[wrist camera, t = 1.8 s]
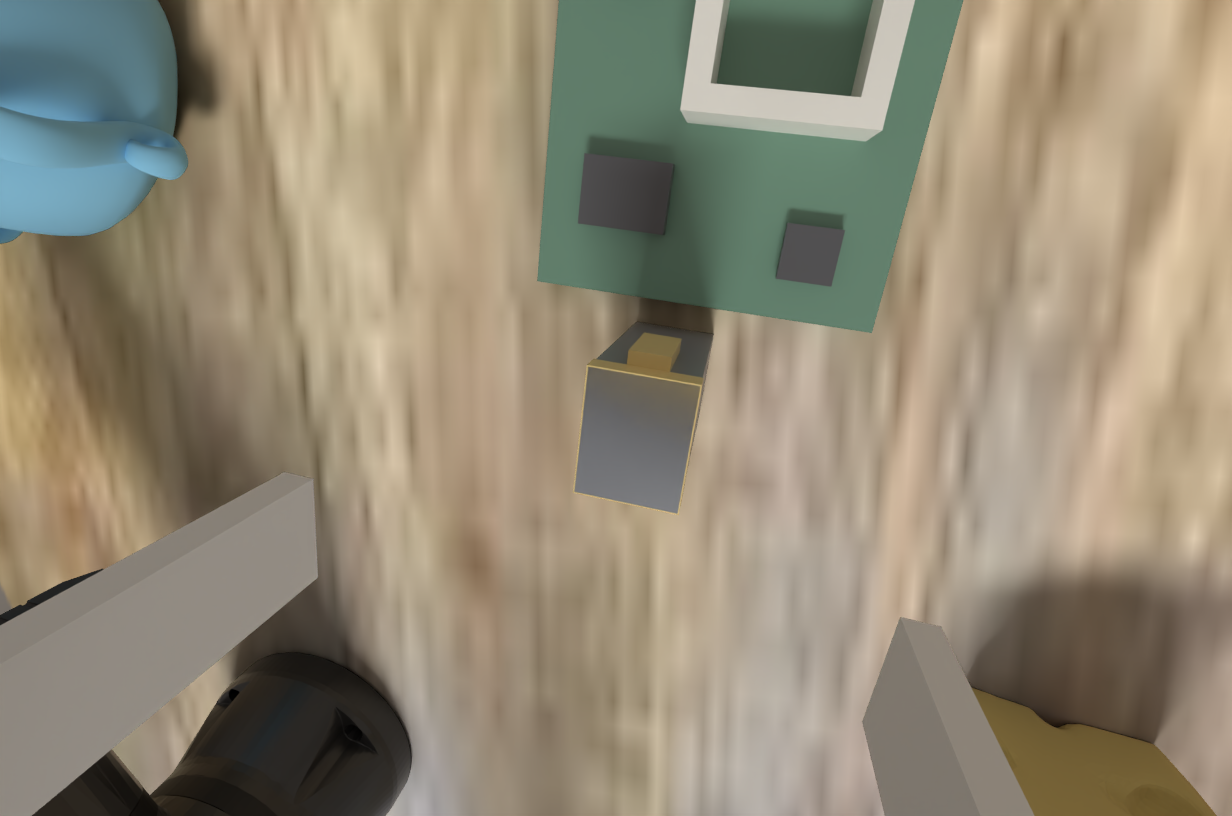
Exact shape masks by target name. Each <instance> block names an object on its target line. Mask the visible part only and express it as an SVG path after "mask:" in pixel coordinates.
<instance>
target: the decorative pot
mask: <svg viewBox="0 0 1232 816" xmlns="http://www.w3.org/2000/svg"><path fill="white" fill-rule="evenodd" d="M177 93H178V79H177V55H176V50H175V45H174V40H173V36H172V32H171V28H170V25H169V23H168V20H167V17H166V15H165V13H164V11H163V9H162V7H161V5H160V3H159V1H158V0H0V244H1V243H7V242H10V241H12V240H14V239H16V238H17V237H18V236H19V235H20V234H21V233H22V232H30V233H37V234H46V235H56V236H85V235H91V234H94V233H98V232H101V231H104V230H107V229H109V228H111V227H112V226H114V225H115V224H117V223H118V222H120V221H121V220H123V219H124V218H126V217H127V216H128V215H129V214H130V213H132V212H133V211H134V210H135V208H136V207H137V206H138V205H139V204H140V203H141V202H142V200H143V199H144V198H145V197H146V196H147V195H148V193H149V192H150V190H151V188H152V187H153V185H154V184H155V182H156V180H157V178H158V177H159V178H163V179H169V180H174V179H177V178H179V177H180V176H181V175H182V174H183V173H184V172H185V170H186V169H187V166H188V158H187V154H186V152H185V149H184V148H183V146H182V145H181V143H180V142H179V141H178V140H177V139H176V138H174V137H173V134H174V128H175V123H176V113H177Z"/></svg>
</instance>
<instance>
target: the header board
mask: <svg viewBox="0 0 1232 816" xmlns="http://www.w3.org/2000/svg"><path fill="white" fill-rule="evenodd" d="M962 3H963V0H559V6H558V19H557V32H556V45H555V58H554V71H553V84H552V97H551V110H550V123H549V136H548V149H547V162H546V175H545V188H544V201H543V214H542V227H541V240H540V253H539V266H538V279H537V281H540V282H547V283H553V284H559V285H566V286H572V287H579V288H585V289H592V290H598V291H605V292H611V293H618V294H624V295H630V296H637V297H643V298H650V299H656V300H663V301H669V302H676V303H682V304H689V305H695V306H701V307H708V308H714V309H721V310H727V311H734V312H740V313H747V314H753V315H760V316H766V317H772V318H779V319H785V320H792V321H798V322H805V323H811V324H818V325H824V326H831V327H837V328H844V329H850V330H856V331H863V332H869V333H872V330H873V327H874V323H875V319H876V316H877V312H878V308H879V305H880V301H881V298H882V294H883V290H884V287H885V283H886V279H887V276H888V272H889V268H890V265H891V261H892V258H893V254H894V250H895V247H896V243H897V239H898V236H899V232H900V229H901V225H902V221H903V218H904V214H905V210H906V207H907V203H908V199H909V196H910V192H911V189H912V185H913V181H914V178H915V174H916V170H917V167H918V163H919V160H920V156H921V152H922V149H923V145H924V141H925V138H926V134H927V130H928V127H929V123H930V120H931V116H932V112H933V109H934V105H935V101H936V98H937V94H938V90H939V87H940V83H941V80H942V76H943V72H944V69H945V65H946V61H947V58H948V54H949V51H950V47H951V43H952V40H953V36H954V32H955V29H956V25H957V21H958V18H959V14H960V11H961V7H962Z"/></svg>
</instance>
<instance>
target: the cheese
mask: <svg viewBox="0 0 1232 816" xmlns="http://www.w3.org/2000/svg"><path fill="white" fill-rule="evenodd" d="M972 690H973V692H974V694H975V696H976V698H977V700H978V702H979V704H980V706H981V708H982V710H983V712H984V715H985V717H986V719H987V721H988V723H989V725H990V727H991V729H992V731H993V733H994V735H995V737H996V739H997V741H998V743H999V745H1000V747H1001V749H1002V751H1003V753H1004V755H1005V757H1006V759H1007V761H1008V763H1009V765H1010V767H1011V769H1012V771H1013V773H1014V775H1015V777H1016V779H1017V781H1018V783H1019V785H1020V787H1021V789H1022V791H1023V793H1024V795H1025V797H1026V799H1027V801H1028V804H1029V806H1030V808H1031V810H1032V812H1033V814H1034V816H1216V814H1215V813H1214V812H1213V810H1212V809H1211V808H1210V807H1209V806H1208V804H1207V803H1206V802H1205V801H1204V799H1203V798H1202V797H1201V796H1200V795H1199V793H1198V792H1197V791H1196V790H1195V788H1194V787H1193V786H1192V785H1191V784H1190V783H1189V782H1188V781H1187V780H1186V778H1185V777H1184V776H1183V775H1182V774H1181V773H1180V772H1179V771H1178V770H1177V768H1176V767H1175V766H1174V765H1173V764H1172V763H1171V762H1170V761H1169V760H1168V758H1167V757H1166V756H1165V755H1164V754H1163V753H1162V752H1161V751H1160V750H1159V749H1158V748H1157V747H1156V746H1155V745H1153V744H1151V743H1148V742H1145V741H1141V740H1137V739H1134V738H1130V737H1127V736H1123V735H1119V734H1116V733H1112V732H1108V731H1105V730H1101V729H1098V728H1094V727H1090V726H1086V725H1082V724H1066V725H1064V726H1061V727H1059V728H1055V727H1053V726H1051V725H1049V724H1047V723H1046V722H1044V721H1043V720H1042V719H1041V718H1040V717H1038V716H1037V714H1036V713H1035V712H1034V711H1033V710H1031V709H1030V708H1028V707H1025V706H1023V705H1020V704H1017V703H1014V702H1011V701H1008V700H1005V699H1002V698H999V697H996V696H994V695H991V694H989V693H986V692H983V691H980V690H977V689H974V688H972Z"/></svg>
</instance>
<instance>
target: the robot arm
mask: <svg viewBox="0 0 1232 816" xmlns="http://www.w3.org/2000/svg"><path fill="white" fill-rule="evenodd" d="M317 578H318V565H317V545H316V525H315V505H314V484H313V479H312V478H308V477H303V476H299V475H295V474H291V473H286V472H284V473H282V474H280V475H278V476H276V477H274V478H272V479H271V480H269V481H267V482H265V483H263V484H261V485H259V486H258V487H256V488H254V489H252V490H250V491H248V492H246V493H245V494H243V495H241V496H239V497H237V498H235V499H234V500H232V501H230V502H228V503H226V504H224V505H222V506H221V507H219V508H217V509H215V510H213V511H211V512H209V513H208V514H206V515H204V516H202V517H200V518H198V519H197V520H195V521H193V522H191V523H189V524H187V525H185V526H184V527H182V528H180V529H178V530H176V531H174V532H172V533H171V534H169V535H167V536H165V537H163V538H161V539H159V540H158V541H156V542H154V543H152V544H150V545H148V546H147V547H145V548H143V549H141V550H139V551H137V552H135V553H134V554H132V555H130V556H128V557H126V558H124V559H122V560H121V561H119V562H117V563H115V564H113V565H111V566H109V567H108V568H106V569H100V570H97V571H94V572H91V573H88V574H86V575H83V576H80V577H77V578H74V579H71V580H68V581H65V582H62V583H60V584H58V585H57V586H55V587H53V588H51V589H49V590H47V591H45V592H43V593H41V594H39V595H38V596H36V597H34V598H32V599H30V600H28V601H27V603H26V604H25V605H24V606H22V605H19V606H17V607H15V608H13V609H11V610H9V611H7V612H5V613H3V614H2V615H0V816H386V815H387V813H388V812H389V811H390V809H391V808H392V806H393V804H394V803H395V801H396V799H397V798H398V796H399V794H400V793H401V791H402V789H403V788H404V786H405V784H406V782H407V780H408V777H409V773H410V768H411V754H410V748H409V743H408V740H407V737H406V734H405V732H404V730H403V727H402V725H401V723H400V722H399V720H398V718H397V717H396V715H395V713H394V712H393V711H392V709H391V708H390V707H389V705H388V704H387V703H386V702H385V700H384V699H383V698H382V697H381V696H380V695H379V694H378V693H377V692H376V691H375V690H374V689H373V688H372V687H371V686H369V685H368V684H367V683H366V682H365V681H363V680H362V679H360V678H359V677H358V676H356V675H355V674H353V673H352V672H350V671H348V670H347V669H345V668H343V667H341V666H339V665H337V664H335V663H333V662H330V661H328V660H325V659H322V658H319V657H316V656H312V655H307V654H300V653H281V654H275V655H271V656H267V657H265V658H262V659H260V660H259V661H257V662H255V663H254V664H253V665H252V666H250V667H249V668H248V669H247V670H246V671H245V672H244V673H243V674H242V675H240V676H239V677H238V678H237V679H236V680H235V681H234V682H233V683H232V684H230V685H229V687H228V688H227V689H226V690H225V691H224V692H223V694H222V695H221V696H220V698H219V699H218V701H217V703H216V705H215V706H214V708H213V709H212V711H211V712H210V714H209V716H208V717H207V719H206V720H205V722H204V724H203V725H202V727H201V729H200V730H199V732H198V733H197V735H196V737H195V738H194V740H193V741H192V743H191V745H190V746H189V748H188V749H187V751H186V753H185V754H184V756H183V758H182V759H181V761H180V762H179V764H178V766H177V767H176V769H175V770H174V772H173V773H172V774H171V775H170V776H169V777H168V778H167V779H166V780H165V781H164V782H163V783H162V784H161V785H160V786H159V787H158V788H157V789H156V790H155V791H154V792H153V793H152V794H151V795H149V794H148V793H147V792H146V790H145V789H144V788H143V786H142V785H141V784H140V782H139V781H138V780H137V779H136V778H135V777H134V775H133V774H132V773H131V772H130V771H129V769H128V768H127V767H126V766H125V765H124V763H123V762H122V761H121V760H120V759H119V757H118V756H117V755H116V754H115V753H114V751H113V750H112V748H114V747H115V746H116V745H117V744H118V743H120V742H121V741H122V740H123V739H124V738H126V737H127V736H128V735H129V734H130V733H132V732H133V731H134V730H135V729H136V728H138V727H139V726H140V725H141V724H142V723H144V722H145V721H146V720H147V719H148V718H150V717H151V716H152V715H153V714H154V713H156V712H157V711H158V710H159V709H160V708H162V707H163V706H164V705H165V704H167V703H168V702H169V701H170V700H171V699H173V698H174V697H175V696H176V695H177V694H179V693H180V692H181V691H182V690H183V689H185V688H186V687H187V686H188V685H189V684H191V683H192V682H193V681H194V680H195V679H197V678H198V677H199V676H200V675H201V674H203V673H204V672H205V671H206V670H207V669H209V668H210V667H211V666H212V665H213V664H215V663H216V662H217V661H218V660H219V659H221V658H222V657H223V656H224V655H225V654H227V653H228V652H229V651H230V650H231V649H233V648H234V647H235V646H236V645H237V644H239V643H240V642H241V641H242V640H243V639H245V638H246V637H247V636H248V635H249V634H251V633H252V632H253V631H254V630H256V629H257V628H258V627H259V626H260V625H262V624H263V623H264V622H265V621H266V620H268V619H269V618H270V617H271V616H272V615H274V614H275V613H276V612H277V611H278V610H280V609H281V608H282V607H283V606H284V605H286V604H287V603H288V602H289V601H290V600H292V599H293V598H294V597H295V596H296V595H298V594H299V593H300V592H301V591H302V590H304V589H305V588H306V587H307V586H308V585H310V584H311V583H312V582H313V581H314V580H316V579H317ZM862 722H863V727H864V731H865V735H866V739H867V743H868V747H869V751H870V756H871V760H872V764H873V768H874V772H875V776H876V780H877V785H878V789H879V793H880V797H881V801H882V805H883V809H884V814H885V816H1034V814H1033V812H1032V810H1031V808H1030V806H1029V804H1028V801H1027V799H1026V797H1025V795H1024V793H1023V791H1022V789H1021V787H1020V785H1019V783H1018V781H1017V779H1016V777H1015V775H1014V773H1013V771H1012V769H1011V767H1010V765H1009V763H1008V761H1007V759H1006V757H1005V755H1004V753H1003V751H1002V749H1001V747H1000V745H999V743H998V741H997V739H996V737H995V735H994V733H993V731H992V729H991V727H990V725H989V723H988V721H987V719H986V717H985V715H984V712H983V710H982V708H981V706H980V704H979V702H978V700H977V698H976V696H975V694H974V692H973V690H972V688H971V686H970V684H969V682H968V680H967V678H966V676H965V674H964V672H963V670H962V668H961V666H960V664H959V662H958V660H957V658H956V656H955V654H954V652H953V650H952V648H951V646H950V644H949V642H948V640H947V638H946V636H945V634H944V632H943V630H942V628H941V627H940V626H936V625H932V624H928V623H923V622H919V621H915V620H911V619H906V618H902V617H900V619H899V622H898V625H897V627H896V630H895V633H894V636H893V638H892V641H891V644H890V647H889V650H888V652H887V655H886V658H885V661H884V663H883V666H882V669H881V672H880V674H879V677H878V680H877V683H876V685H875V688H874V691H873V694H872V696H871V699H870V702H869V705H868V707H867V710H866V713H865V716H864V718H863V721H862Z"/></svg>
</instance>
